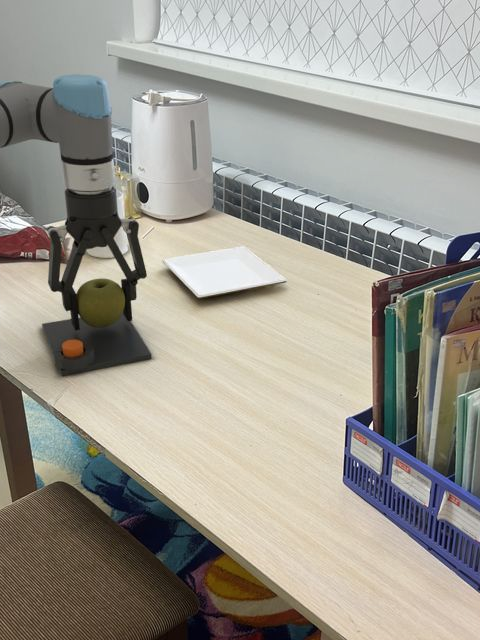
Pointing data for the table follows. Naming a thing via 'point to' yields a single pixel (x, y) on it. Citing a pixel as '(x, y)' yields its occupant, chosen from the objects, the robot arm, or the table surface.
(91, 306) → the apple
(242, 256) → the plate
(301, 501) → the table surface
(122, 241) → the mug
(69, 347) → the button
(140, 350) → the scale
